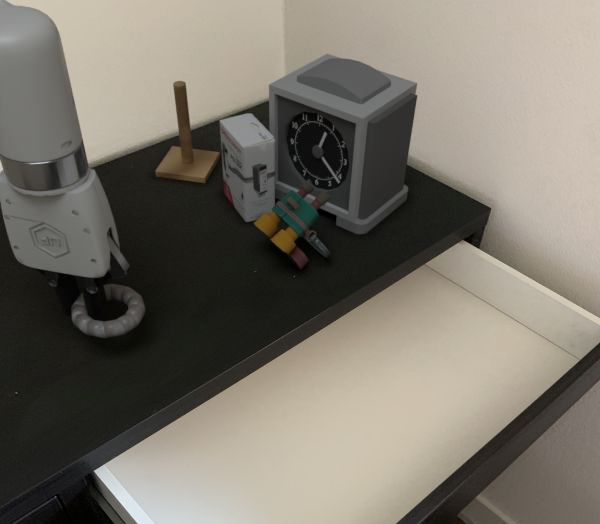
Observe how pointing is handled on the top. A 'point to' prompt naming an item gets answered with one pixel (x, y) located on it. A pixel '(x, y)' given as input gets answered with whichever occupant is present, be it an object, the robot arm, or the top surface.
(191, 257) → the top surface
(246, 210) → the ink box
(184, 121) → the stand
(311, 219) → the teal and yellow figure
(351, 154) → the alarm clock
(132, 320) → the ring
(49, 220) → the robot arm
